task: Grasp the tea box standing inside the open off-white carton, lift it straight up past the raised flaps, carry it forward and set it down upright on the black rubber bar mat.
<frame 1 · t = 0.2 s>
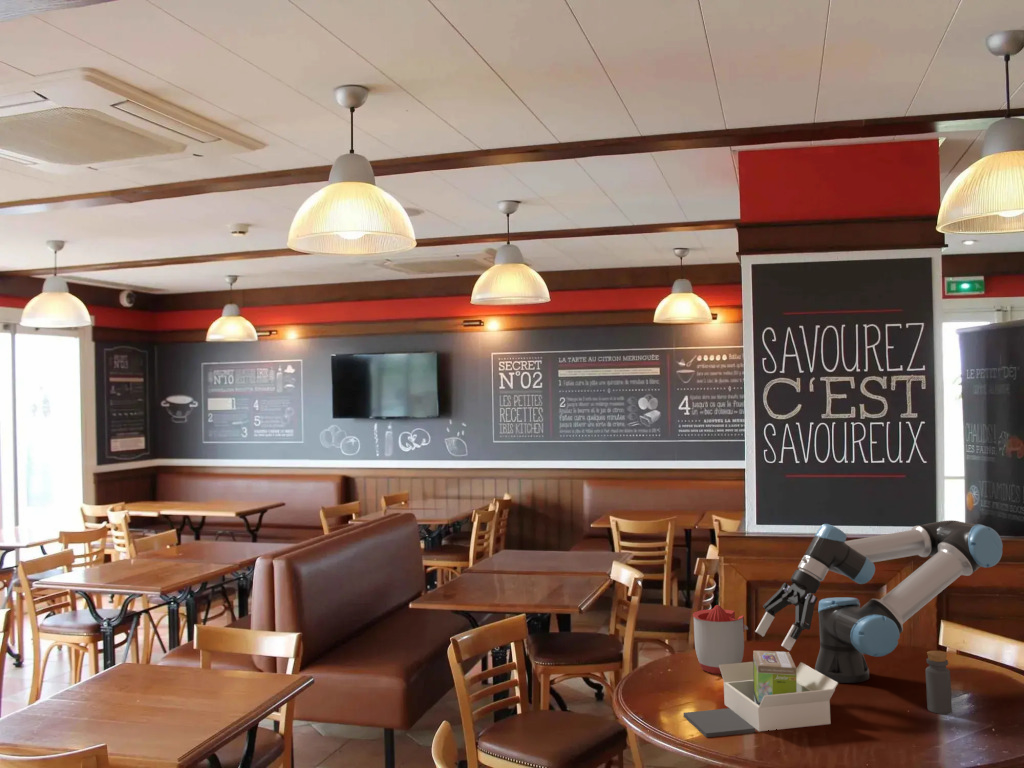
hand: (771, 641, 237), 16 cm above the table, tool tilted 35°, fingers open, 13 cm apart
tea box: (775, 714, 225), resting in carton
citrus juicer: (722, 669, 265), on the table
bottle: (939, 711, 224), on the table
carton: (775, 713, 225), on the table
bar mat: (718, 724, 219), on the table
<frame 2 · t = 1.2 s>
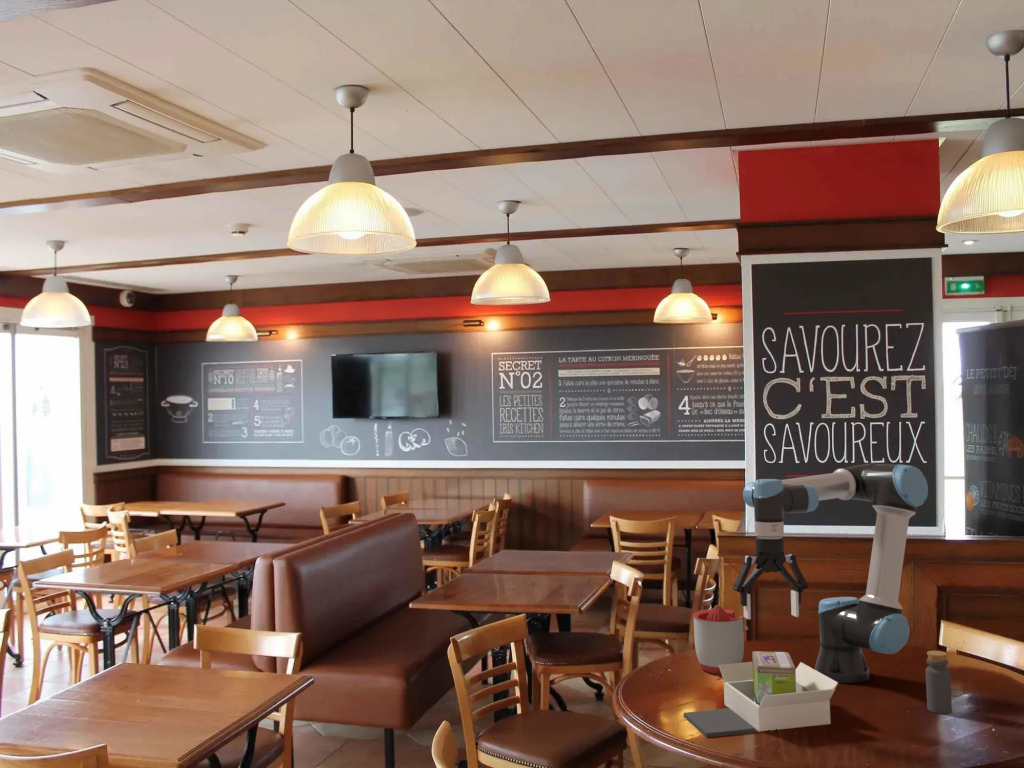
hand: (771, 617, 226), 25 cm above the table, tool pointing down, fingers open, 13 cm apart
nothing on the table moved.
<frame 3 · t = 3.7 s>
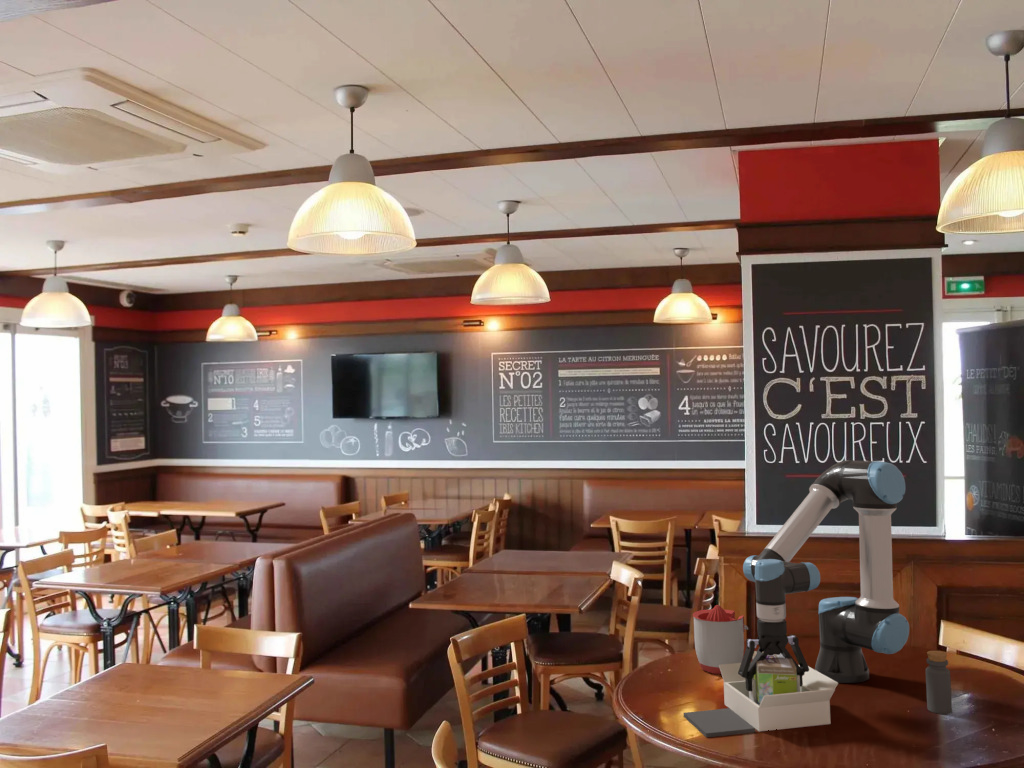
hand: (774, 701, 225), 3 cm above the table, tool pointing down, fingers closed on tea box, 12 cm apart
tea box: (775, 714, 225), resting in carton, touching gripper
everything else where it was.
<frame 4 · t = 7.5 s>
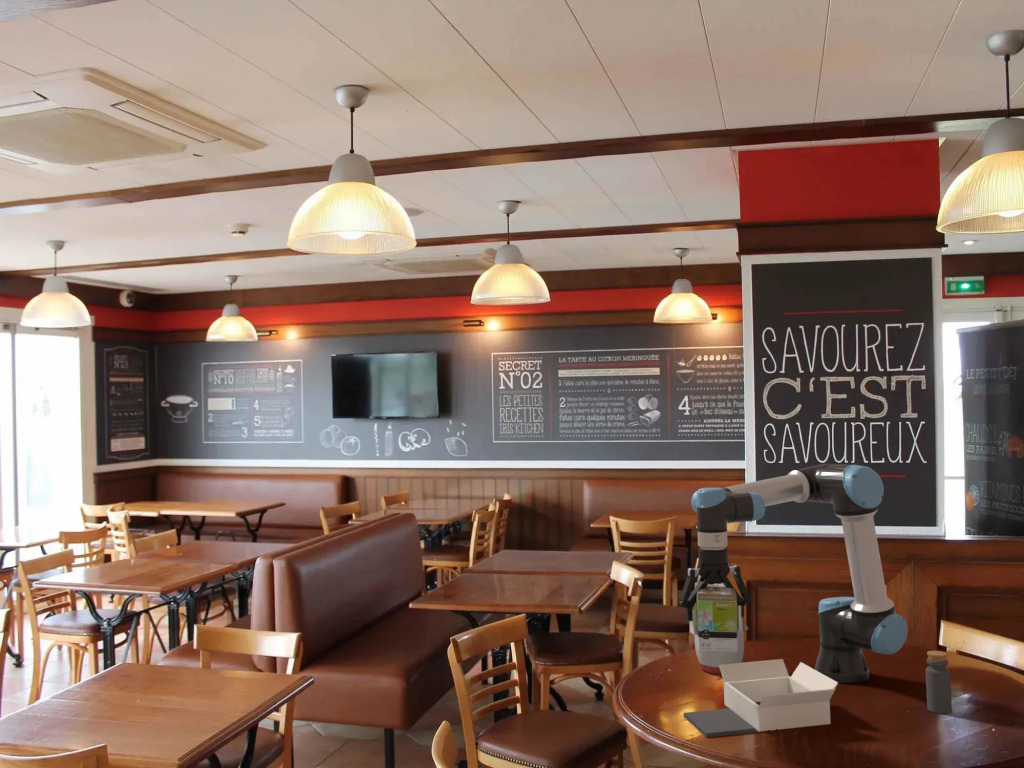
hand: (715, 631, 220), 24 cm above the table, tool pointing down, fingers closed on tea box, 12 cm apart
tea box: (716, 645, 220), point 20 cm above the table, touching gripper
everything else where it was.
when the fingers open (6 cm above the table, at t = 11.6 s): tea box drops 1 cm, resting on bar mat.
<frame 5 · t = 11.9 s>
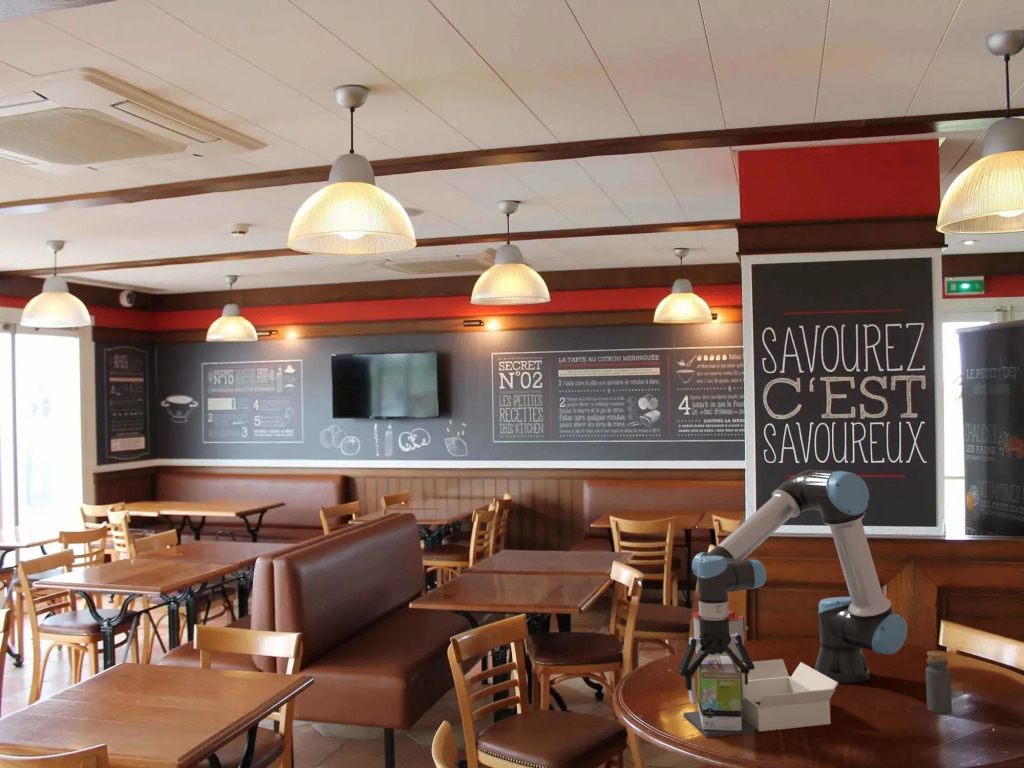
hand: (717, 699, 219), 6 cm above the table, tool pointing down, fingers open, 13 cm apart
tea box: (719, 721, 219), point 1 cm above the table, touching bar mat
everything else where it was.
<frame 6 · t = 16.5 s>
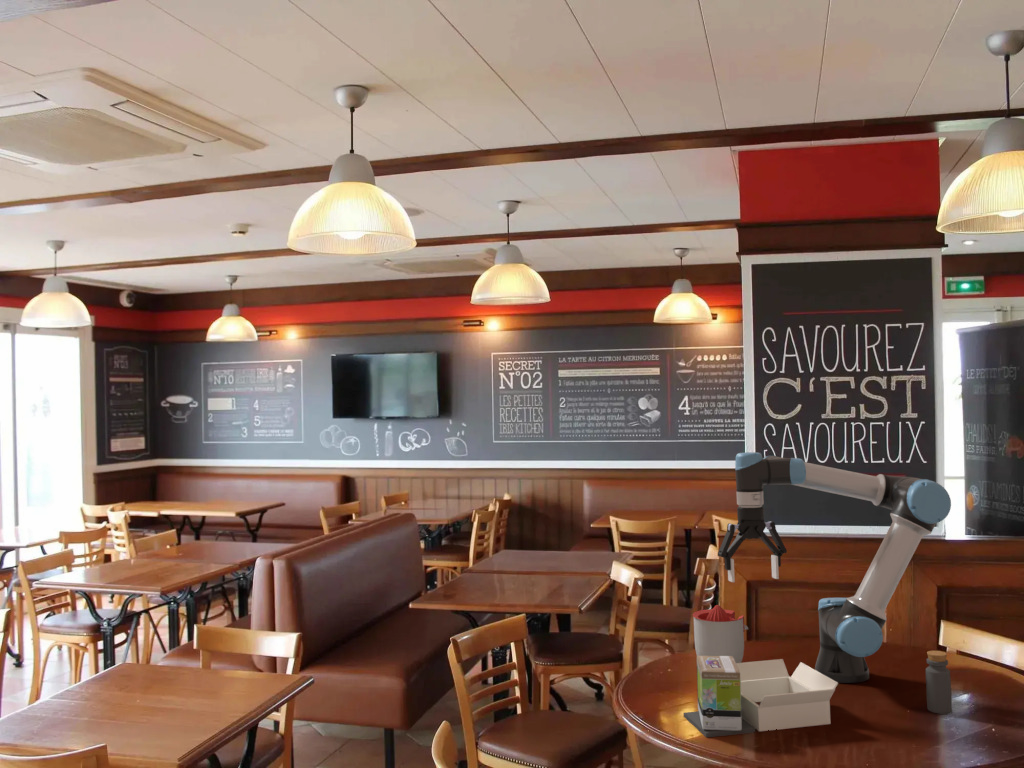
hand: (753, 579, 244), 32 cm above the table, tool pointing down, fingers open, 13 cm apart
nothing on the table moved.
at the end: tea box inside the target area on the bar mat (0.3 cm from its centre), point 0.8 cm above the bar mat's base; tea box tilted 0°; the gripper is holding nothing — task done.
